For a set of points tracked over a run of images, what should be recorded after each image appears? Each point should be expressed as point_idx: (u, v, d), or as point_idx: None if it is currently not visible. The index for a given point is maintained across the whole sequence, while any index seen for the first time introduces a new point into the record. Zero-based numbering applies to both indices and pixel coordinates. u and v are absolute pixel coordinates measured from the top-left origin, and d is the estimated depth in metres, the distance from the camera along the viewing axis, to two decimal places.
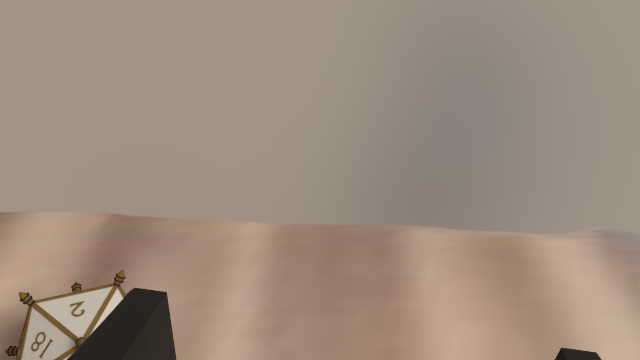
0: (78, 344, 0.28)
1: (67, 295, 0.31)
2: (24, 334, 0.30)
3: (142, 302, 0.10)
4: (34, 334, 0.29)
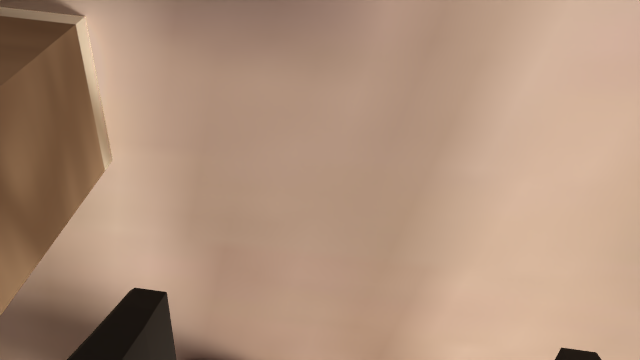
0: None
1: None
2: None
3: (142, 302, 0.10)
4: None
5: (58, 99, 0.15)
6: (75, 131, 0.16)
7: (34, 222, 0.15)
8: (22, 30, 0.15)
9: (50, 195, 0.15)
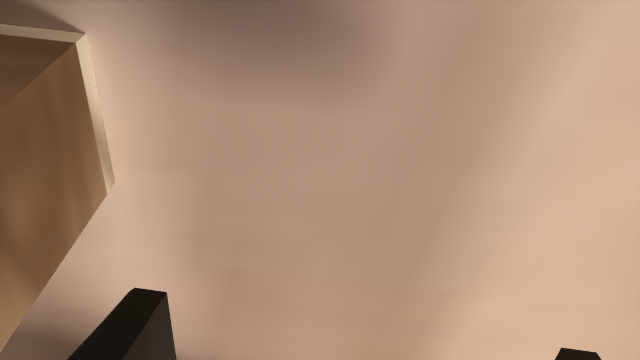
0: None
1: None
2: None
3: (142, 302, 0.10)
4: None
5: (57, 123, 0.14)
6: (75, 155, 0.15)
7: (32, 256, 0.14)
8: (18, 50, 0.14)
9: (49, 226, 0.14)
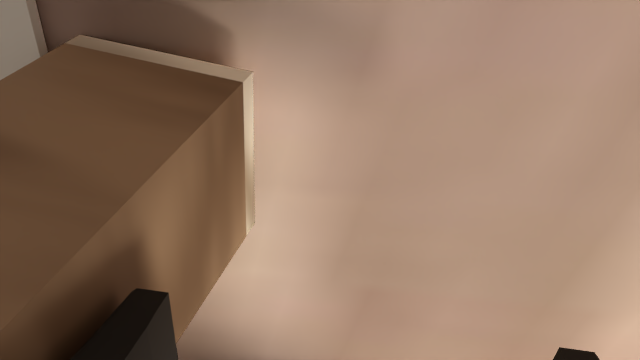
0: None
1: None
2: None
3: (144, 302, 0.10)
4: None
5: (215, 168, 0.13)
6: (225, 199, 0.14)
7: (173, 308, 0.13)
8: (186, 86, 0.13)
9: (192, 274, 0.14)
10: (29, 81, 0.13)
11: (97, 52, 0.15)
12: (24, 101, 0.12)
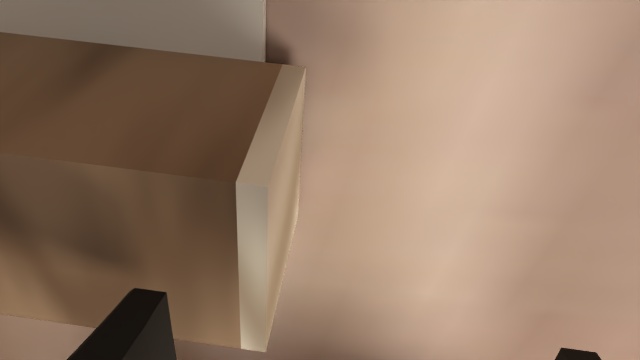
0: None
1: None
2: None
3: (143, 302, 0.10)
4: None
5: (159, 229, 0.12)
6: (185, 277, 0.12)
7: (71, 292, 0.13)
8: (211, 144, 0.11)
9: (108, 293, 0.13)
10: (197, 65, 0.14)
11: (275, 83, 0.14)
12: (160, 71, 0.14)
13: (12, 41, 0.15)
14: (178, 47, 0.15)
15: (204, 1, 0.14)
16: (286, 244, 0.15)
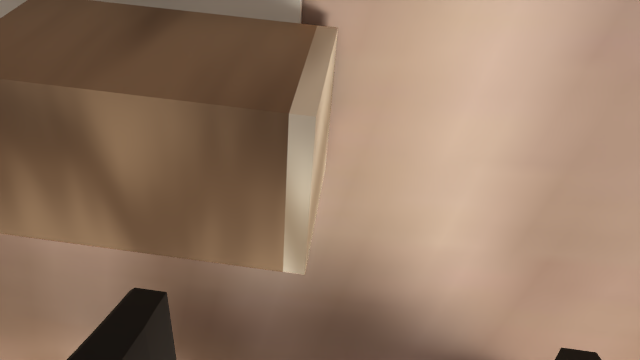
0: None
1: None
2: None
3: (143, 302, 0.10)
4: None
5: (219, 158, 0.13)
6: (239, 203, 0.14)
7: (136, 221, 0.15)
8: (264, 85, 0.13)
9: (169, 220, 0.15)
10: (243, 25, 0.16)
11: (312, 41, 0.16)
12: (212, 30, 0.16)
13: (78, 5, 0.16)
14: (225, 10, 0.17)
15: None
16: (319, 186, 0.17)
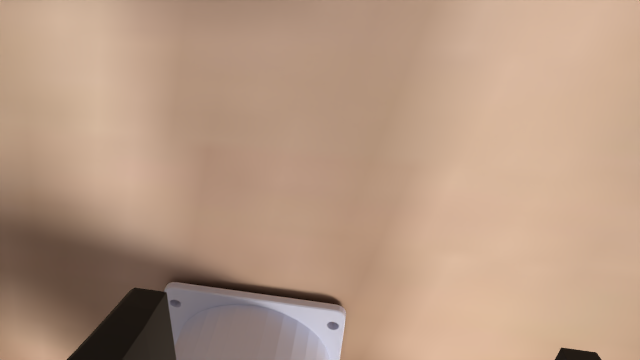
0: None
1: None
2: None
3: (142, 302, 0.10)
4: None
5: None
6: None
7: None
8: None
9: None
10: None
11: None
12: None
13: None
14: None
15: None
16: None
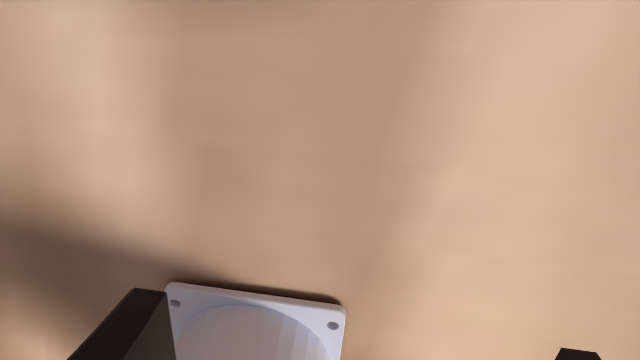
0: None
1: None
2: None
3: (142, 302, 0.10)
4: None
5: None
6: None
7: None
8: None
9: None
10: None
11: None
12: None
13: None
14: None
15: None
16: None
